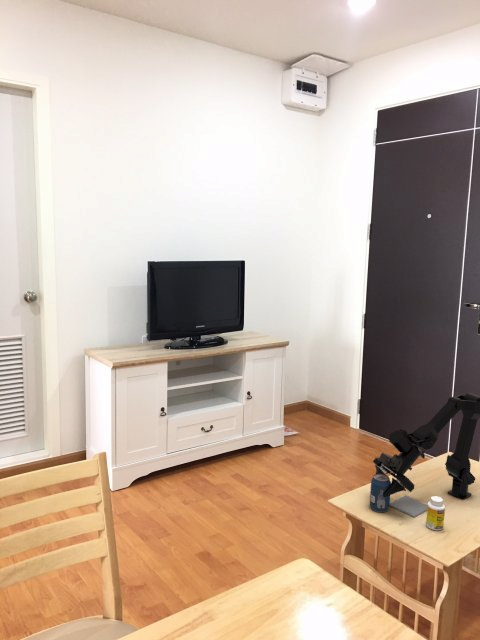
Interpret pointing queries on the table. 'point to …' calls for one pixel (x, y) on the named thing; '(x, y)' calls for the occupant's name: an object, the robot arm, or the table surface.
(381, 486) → the soda can
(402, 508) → the coaster
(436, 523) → the supplement bottle
